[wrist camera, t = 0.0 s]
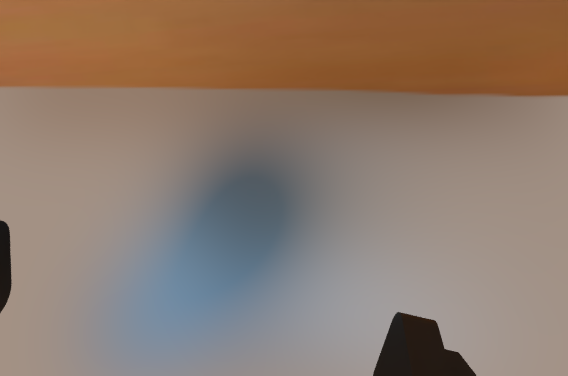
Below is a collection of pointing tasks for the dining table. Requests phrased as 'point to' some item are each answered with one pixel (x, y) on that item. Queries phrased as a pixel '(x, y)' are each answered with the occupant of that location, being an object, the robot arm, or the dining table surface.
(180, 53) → the dining table surface
